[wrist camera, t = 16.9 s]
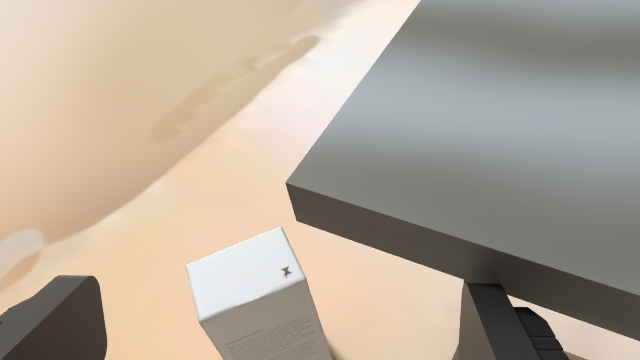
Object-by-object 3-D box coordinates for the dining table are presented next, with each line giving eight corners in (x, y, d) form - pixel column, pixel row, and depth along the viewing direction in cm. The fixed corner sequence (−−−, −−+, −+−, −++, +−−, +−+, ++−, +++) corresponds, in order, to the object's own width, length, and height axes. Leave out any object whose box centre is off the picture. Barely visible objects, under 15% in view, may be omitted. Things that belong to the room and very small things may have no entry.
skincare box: (316, 324, 41) (283, 222, 32) (338, 375, 38) (309, 278, 29) (237, 358, 40) (182, 262, 31) (254, 413, 37) (198, 325, 28)
